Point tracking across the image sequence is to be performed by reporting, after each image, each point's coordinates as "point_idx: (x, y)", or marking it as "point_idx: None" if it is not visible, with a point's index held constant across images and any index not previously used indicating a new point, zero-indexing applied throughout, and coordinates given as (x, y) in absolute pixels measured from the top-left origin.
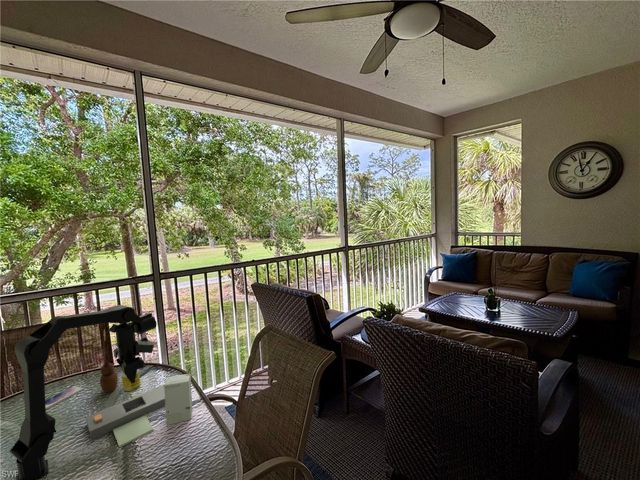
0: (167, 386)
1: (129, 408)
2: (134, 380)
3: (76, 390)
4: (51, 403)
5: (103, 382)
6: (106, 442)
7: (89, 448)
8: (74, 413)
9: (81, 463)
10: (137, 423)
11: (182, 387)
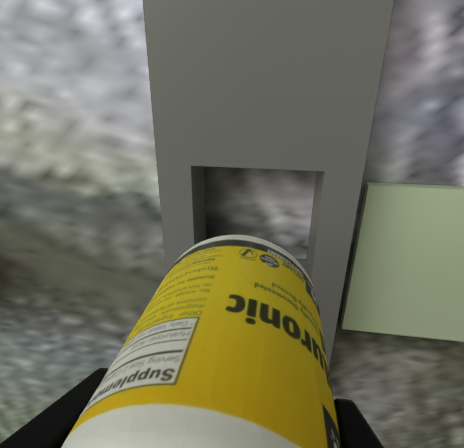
0: None
1: (205, 224)
2: (367, 432)
3: None
4: None
5: None
6: (397, 357)
7: (370, 398)
8: (66, 373)
9: (437, 430)
10: (409, 240)
11: None
